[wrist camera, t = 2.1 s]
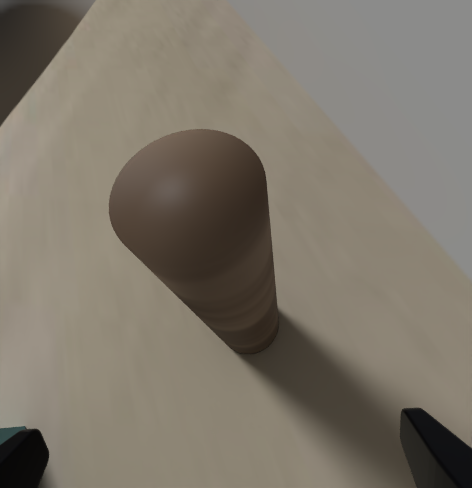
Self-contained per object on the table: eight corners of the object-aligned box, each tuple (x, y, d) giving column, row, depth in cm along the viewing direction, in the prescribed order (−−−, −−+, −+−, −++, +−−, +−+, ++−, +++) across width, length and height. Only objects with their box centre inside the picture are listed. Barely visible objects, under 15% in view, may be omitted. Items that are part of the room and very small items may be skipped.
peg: (290, 332, 21) (300, 204, 7) (237, 366, 20) (144, 296, 7) (257, 282, 22) (216, 107, 9) (208, 313, 22) (89, 175, 9)
